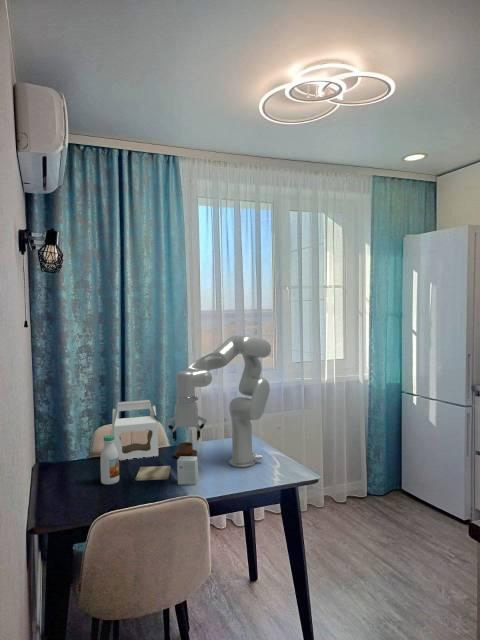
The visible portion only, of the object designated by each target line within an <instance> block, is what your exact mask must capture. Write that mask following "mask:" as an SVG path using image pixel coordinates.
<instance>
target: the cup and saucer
mask: <svg viewBox="0 0 480 640" xmlns="http://www.w3.org/2000/svg"><path fill="white" fill-rule="evenodd" d="M197 454H198V451H197V450H195V449H193V442H189V441H187V442H180V443H177V450H176V451H174V452H173V456H174V457H176V458H177V459H179V457H180V456H196V455H197Z"/></svg>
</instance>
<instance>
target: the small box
mask: <svg viewBox="0 0 480 640" xmlns="http://www.w3.org/2000/svg"><path fill="white" fill-rule="evenodd" d="M198 461H199V460H198V456H196V455H195V456H180V457H179V458H177V460H176V467H177V469H176V471H177V485H181V486H182V485H184V486H185V485H186V486H187V485H189V486H191V485H192V486H193V485H197V483H198V481H199V465H198V464H199V462H198Z"/></svg>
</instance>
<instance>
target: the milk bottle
mask: <svg viewBox="0 0 480 640" xmlns="http://www.w3.org/2000/svg"><path fill="white" fill-rule="evenodd" d="M114 439H115V437H114V435H113V434H107V435H104V436H103V447H102V449H101V453H100V483H101V484H103V485H114V484H117V483H118V482H119V481H120V461H119V455H118V451H117V449H116V447H115V444H114V441H115V440H114Z"/></svg>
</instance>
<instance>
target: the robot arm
mask: <svg viewBox="0 0 480 640" xmlns="http://www.w3.org/2000/svg"><path fill="white" fill-rule="evenodd" d="M271 352H272V346H271V344H270V342H269V341H267V340H265V339H263V338H262V339H261V338H257V337H252V336H249V335H232V336H230V337H228V338H227V339H226V340H225V341H224V342H222V344H220V346H218V347H217V348H216V349H215V350H213V352H210V353H208V354H206V355H204V356H202V357H200V358H198V359H196V360H195V361H193V362H192V363H191V364H190V365H188V366H187V368H186V369H185V370H181V371H178V372H177V373H176V403H175V406H174V416H173V417H171V418H169V419H167V420H166V421H165V425H167V427H168V428H169V430H170V431H172V440H173V439H174V440H173V441H174V442H176V441H177V439H178V438H177V434H178V433H177V429H178V428H195V429H196V441H199V439H201V430H203V428H204V427H205V426H206V424H207V421H208V420H207V419H206V418H204V417H202V416H200V415H199V409H198V403H197V402H196V401H198V400H199V397H198V396H196V395H195V393H196V392H195V388H205V387H207V386H210V385H211V383H212V382H213V375H212V373H211V371H212V370H217V369H220V368H224V367H226V366H227V365H229V363H231V361H233V360H234V359H235V358H236V357H237V356H238V355H242V357H243V360H244V368H243V372H242V374H241V378H240V381H239V384H238V391H239V393H240V395H243V396H247V397H242V396H238V397H234V398H233V399H231V401H230V402H229V405H228V406H229V408H228V410H229V414H230V421H231V444H232V445H231V449H232V451H231V452H232V454H231V455H232V458H230V459H229V461H228V462H229V465H230V466H232V467H236V468H248V467H253V466H254V465H255V464H256V463H257V462H256V461H257V460H263V455H261V454H260V455H259V454H258V453H256V454H254V453H253V439H252V438H253V432H252V431H253V430H252V428H253V427H252V422H251V420H252V421H258V420H260V419H261V418H262V416H263V415H264V411H265V408H266V405H267V401H268V398H269V394H270V389H271V388H270V383H269V381H268V380H267V379H266V378H265V377H261V373H262V371H263V370H262V367H263V365H262V363H261V360H260V359H261V358H262V359H263V358H267V357H268V356H270V354H271ZM249 397H251V398H249ZM173 421H174V423H173V424H174V426H173V425H172V424H171V423H172V422H173ZM199 421H200V422H202V423H201V424H200V425H199Z"/></svg>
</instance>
